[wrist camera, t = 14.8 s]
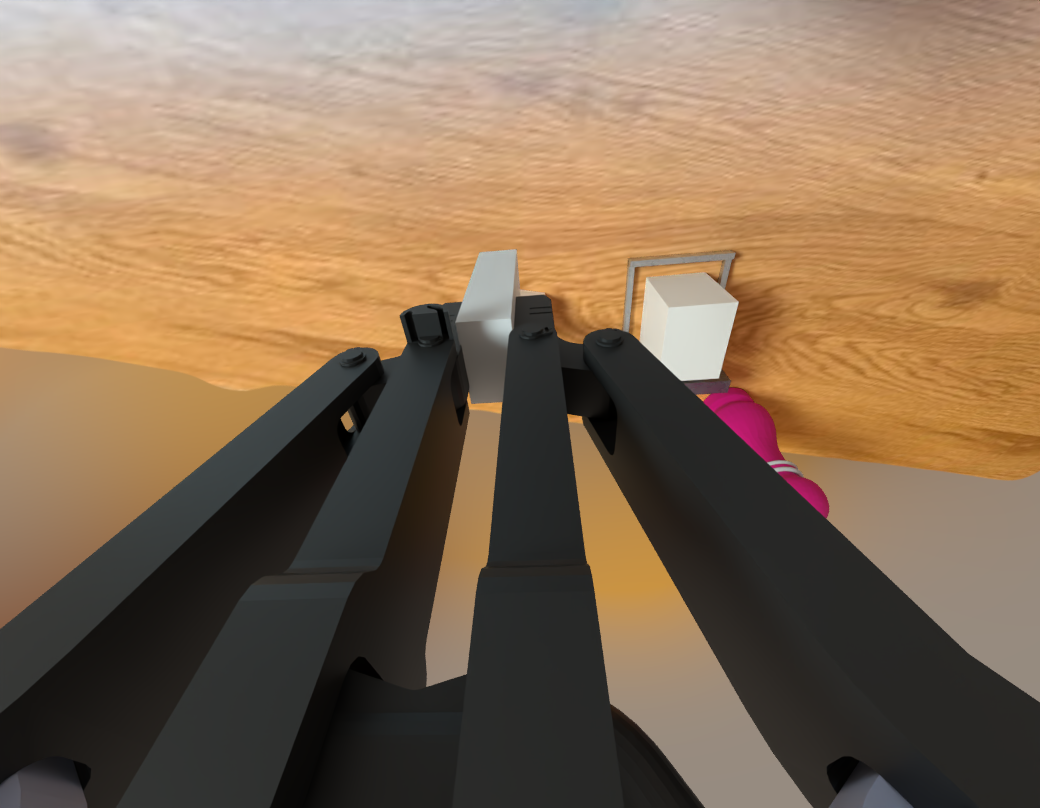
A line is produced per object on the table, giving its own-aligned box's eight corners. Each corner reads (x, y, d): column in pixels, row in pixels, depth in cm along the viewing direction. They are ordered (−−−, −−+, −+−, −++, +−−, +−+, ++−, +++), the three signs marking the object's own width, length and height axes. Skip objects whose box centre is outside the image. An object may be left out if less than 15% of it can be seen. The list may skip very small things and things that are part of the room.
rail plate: (619, 259, 39) (629, 275, 35) (740, 249, 38) (765, 264, 34) (611, 375, 47) (618, 398, 43) (710, 369, 47) (727, 392, 43)
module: (646, 277, 40) (668, 307, 34) (704, 272, 40) (738, 301, 33) (639, 345, 45) (657, 383, 39) (691, 341, 45) (718, 379, 38)
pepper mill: (714, 377, 48) (809, 510, 32) (765, 390, 49) (882, 525, 33) (685, 420, 52) (755, 557, 36) (732, 431, 53) (821, 569, 37)
